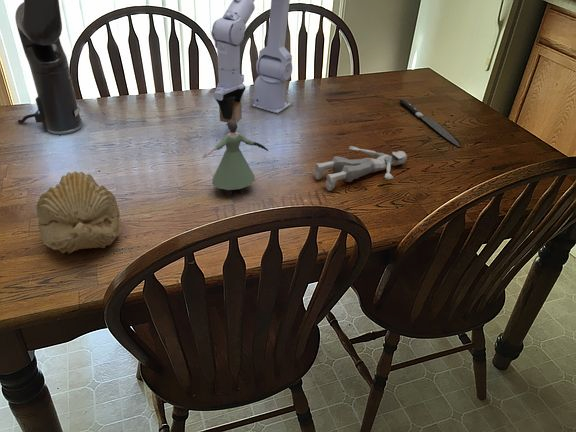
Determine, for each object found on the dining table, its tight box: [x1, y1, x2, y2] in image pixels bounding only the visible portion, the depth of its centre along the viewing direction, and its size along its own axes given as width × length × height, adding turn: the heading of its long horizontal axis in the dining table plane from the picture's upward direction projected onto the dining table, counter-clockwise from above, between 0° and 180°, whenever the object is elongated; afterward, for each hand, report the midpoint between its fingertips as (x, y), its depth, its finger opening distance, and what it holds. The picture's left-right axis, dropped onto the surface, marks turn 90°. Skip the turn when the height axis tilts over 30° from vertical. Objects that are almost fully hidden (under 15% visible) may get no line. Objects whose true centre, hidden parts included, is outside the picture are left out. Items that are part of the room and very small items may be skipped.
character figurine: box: [202, 120, 270, 196], centre depth 113 cm, size 16×8×18 cm, turn 114°
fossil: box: [36, 170, 122, 254], centre depth 97 cm, size 15×17×15 cm
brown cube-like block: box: [218, 101, 243, 124], centre depth 138 cm, size 5×4×5 cm
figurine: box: [313, 145, 408, 192], centre depth 125 cm, size 18×5×25 cm
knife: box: [398, 98, 461, 147], centre depth 152 cm, size 32×4×1 cm, turn 20°
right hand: (230, 115), depth 139 cm, fingers closed on brown cube-like block, 4 cm apart
